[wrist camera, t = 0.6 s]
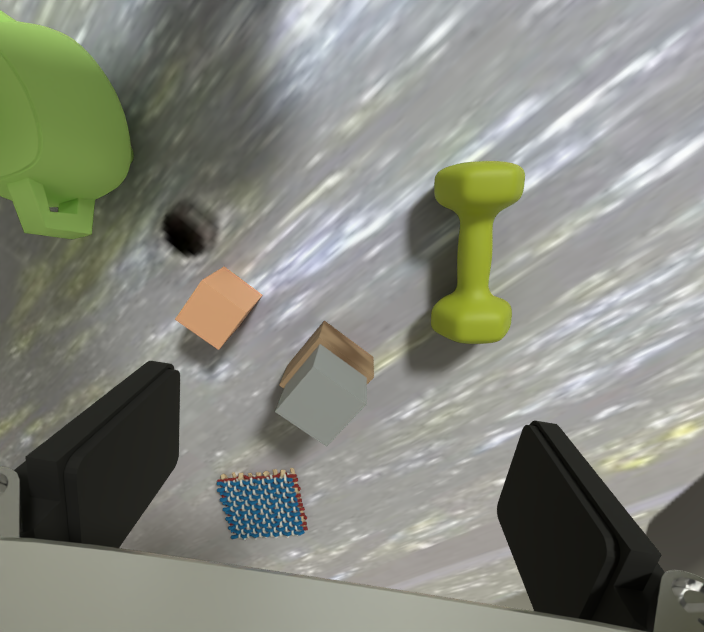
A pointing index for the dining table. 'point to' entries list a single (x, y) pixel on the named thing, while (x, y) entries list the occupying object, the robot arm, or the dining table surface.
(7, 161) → the teapot
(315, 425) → the tower top
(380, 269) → the dining table surface
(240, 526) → the woven mat
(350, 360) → the tower base
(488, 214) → the dumbbell
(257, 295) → the terracotta block
